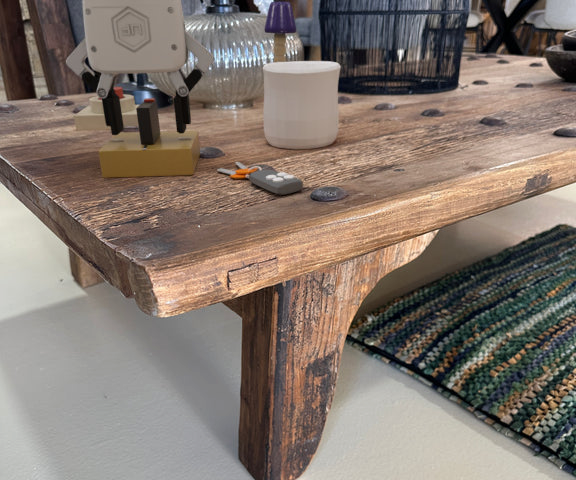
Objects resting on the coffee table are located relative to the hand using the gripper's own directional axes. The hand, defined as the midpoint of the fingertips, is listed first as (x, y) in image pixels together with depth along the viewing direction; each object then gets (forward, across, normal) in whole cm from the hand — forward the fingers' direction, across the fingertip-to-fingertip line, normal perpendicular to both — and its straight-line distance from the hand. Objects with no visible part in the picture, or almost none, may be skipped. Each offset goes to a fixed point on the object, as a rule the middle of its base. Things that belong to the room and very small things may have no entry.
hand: (150, 130), depth 65 cm
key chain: (+4, +12, -7) cm, 15 cm away
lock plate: (+4, 0, 0) cm, 4 cm away
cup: (+4, +18, +10) cm, 21 cm away
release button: (0, -10, +25) cm, 27 cm away
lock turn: (+1, 0, 0) cm, 1 cm away
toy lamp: (+4, +16, +24) cm, 29 cm away
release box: (+4, -10, +25) cm, 27 cm away
